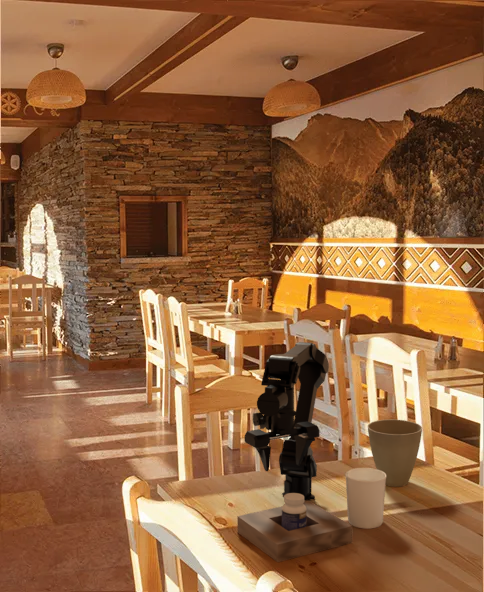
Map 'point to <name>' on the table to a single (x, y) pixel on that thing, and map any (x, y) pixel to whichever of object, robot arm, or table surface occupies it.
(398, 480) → the plant pot
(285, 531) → the well block
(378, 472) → the candle holder
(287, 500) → the pill bottle
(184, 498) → the table surface
